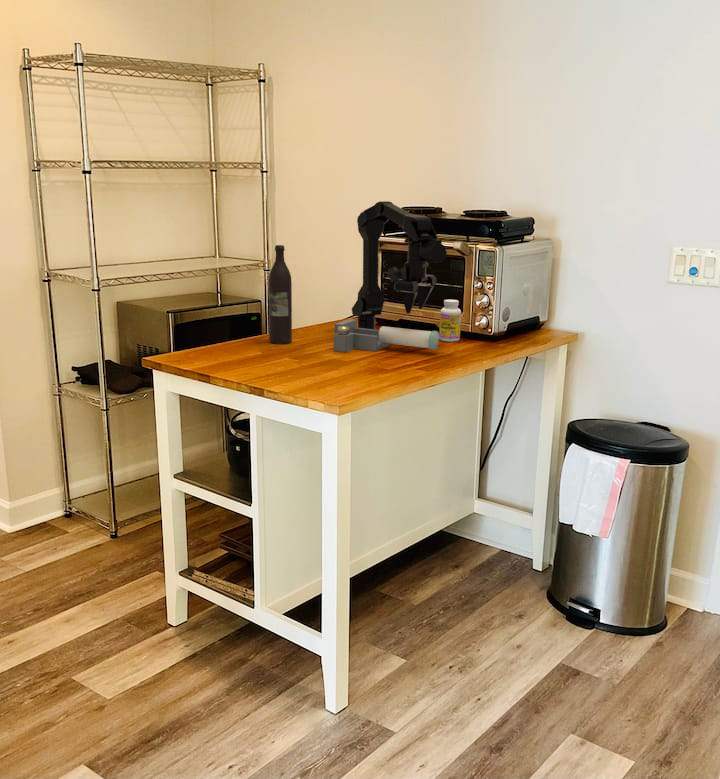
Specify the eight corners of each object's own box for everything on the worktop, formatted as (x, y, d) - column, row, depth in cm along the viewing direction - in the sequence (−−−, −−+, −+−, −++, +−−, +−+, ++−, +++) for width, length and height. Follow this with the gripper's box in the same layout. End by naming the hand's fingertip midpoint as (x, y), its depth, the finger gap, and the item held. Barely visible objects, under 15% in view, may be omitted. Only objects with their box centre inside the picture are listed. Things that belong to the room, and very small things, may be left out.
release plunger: (341, 346, 246) (341, 325, 244) (350, 348, 245) (351, 326, 243) (335, 348, 243) (335, 327, 241) (345, 350, 242) (345, 328, 240)
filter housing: (349, 340, 258) (349, 319, 256) (389, 345, 252) (389, 323, 250) (325, 349, 244) (325, 326, 242) (366, 354, 238) (367, 331, 236)
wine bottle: (264, 342, 254) (263, 245, 246) (280, 339, 259) (279, 244, 251) (280, 345, 249) (279, 246, 242) (296, 342, 255) (296, 245, 247)
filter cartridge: (385, 341, 250) (386, 323, 248) (438, 348, 242) (439, 329, 240) (377, 345, 245) (378, 326, 243) (431, 351, 237) (432, 332, 236)
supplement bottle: (436, 341, 260) (438, 301, 256) (442, 337, 266) (444, 298, 262) (456, 342, 257) (458, 302, 254) (462, 339, 263) (464, 299, 260)
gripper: (405, 254, 254) (403, 303, 258) (379, 260, 238) (377, 312, 242) (438, 257, 249) (435, 307, 253) (413, 263, 233) (411, 317, 237)
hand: (414, 310), depth 247 cm, fingers open, 9 cm apart
